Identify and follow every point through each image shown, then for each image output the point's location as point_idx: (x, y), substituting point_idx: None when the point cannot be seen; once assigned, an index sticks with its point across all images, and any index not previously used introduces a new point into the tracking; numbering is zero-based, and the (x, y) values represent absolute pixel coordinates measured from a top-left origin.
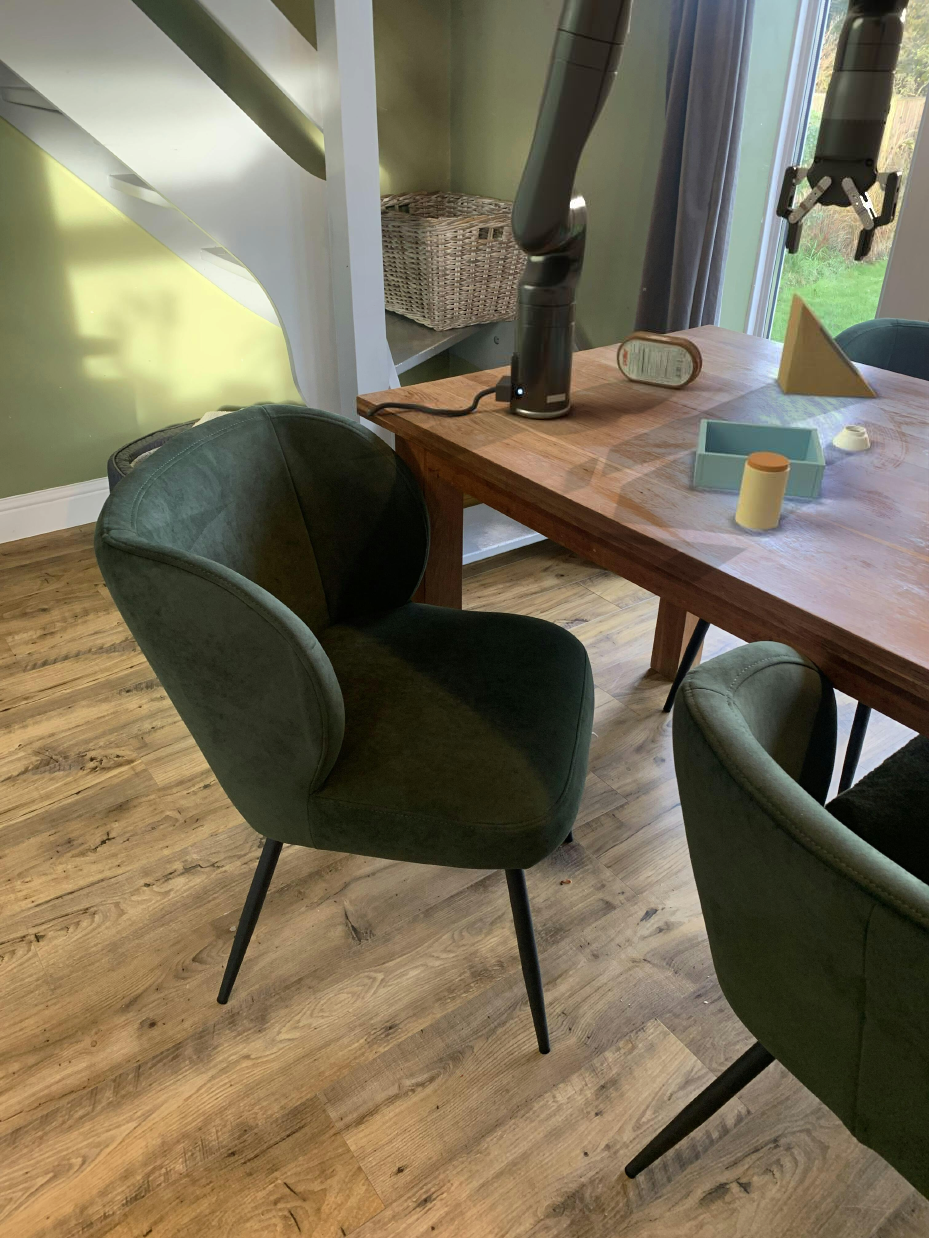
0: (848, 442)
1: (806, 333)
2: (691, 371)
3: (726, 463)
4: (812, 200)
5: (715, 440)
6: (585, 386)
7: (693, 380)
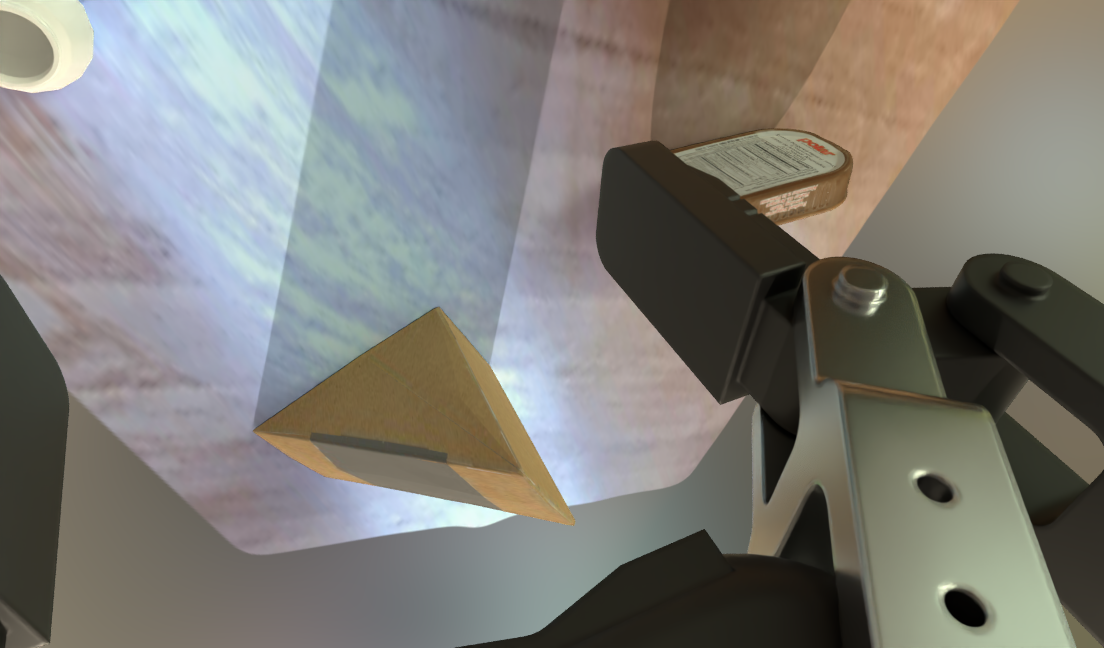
0: None
1: (469, 425)
2: None
3: None
4: (896, 496)
5: None
6: (849, 18)
7: None
